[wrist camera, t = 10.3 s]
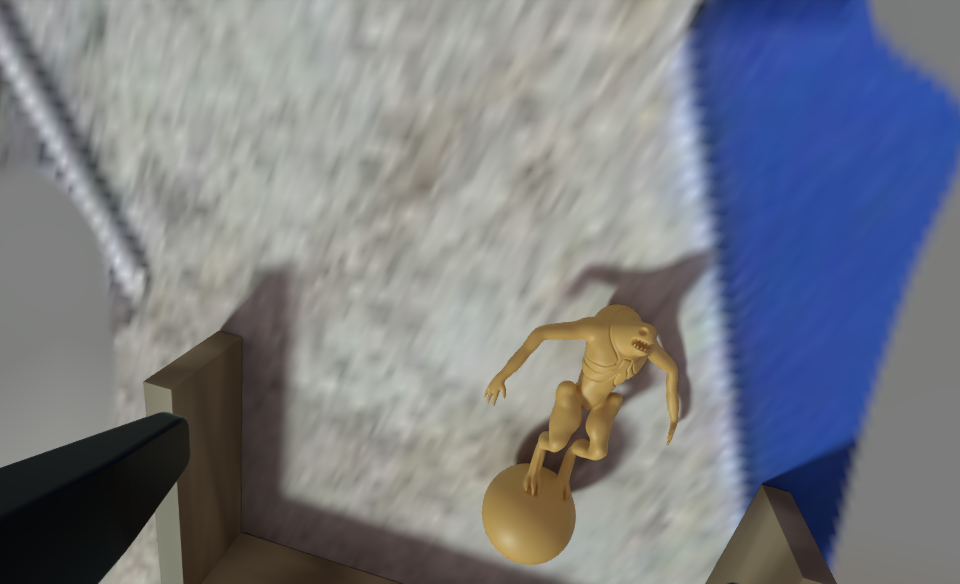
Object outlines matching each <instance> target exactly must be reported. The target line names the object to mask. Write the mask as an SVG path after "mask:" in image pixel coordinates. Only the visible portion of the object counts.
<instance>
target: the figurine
mask: <svg viewBox="0 0 960 584" xmlns="http://www.w3.org/2000/svg"><path fill="white" fill-rule="evenodd" d="M568 339H584V340H586V341H587V344H586V350H585V354H584V358H583V363H582V370H581V373H580V376H579V380H578V382H577V383H576V384H574V383H573V382H571V381H563V382H561V383H560V384H559V386H558V388H557V390H556V400H555V405H554V408H553V410H552V413H551V417H550V422H549V432H548V431H545V432H543V433H541V434H540V436H539V439H538V443H537V445H536V448H535V451H534V454H533V457H532V460H531V463H523V464H517V465H514V466H511V467H509V468H507V469H505V470H503V471H502V472H501V473H499V474H498V475H497V476H496V477H495V478H494V479H493V481H492V482H491V483H490V485H489V487H488V489H487V491H486V493H485V496H484V500H483V505H482V519H483V525H484V528H485V531H486V534H487V536H488V538H489V540H490V542H491V543H492V544H493V546H494V547H495V548H496V549H497V550H498V551H499V552H500V553H501V554H502V555H503V556H505V557H506V558H508V559H510V560H512V561H514V562H517V563H520V564H525V565H536V564H541V563H544V562H547V561H549V560H551V559H553V558H555V557H556V556H557V555H558V554H560V553H561V552H562V551H563V550H564V548H565V547H566V546H567V544H568V543H569V541H570V539H571V537H572V534H573V531H574V527H575V519H576V513H575V505H574V501H573V498H572V495H571V493H570V491H571V489H570V484H569V481H570V476H571V472H572V469H573V465H574V462H575V458H576V456H577V455H578V456H580V457H583V458H588V459H591V460H599V459H602V458H604V457H605V456H606V455H607V453H608V442H609V439H610V435H611V430H612V426H613V421H614V418H615V416H616V414H617V412H618V410H619V408H620V406H621V404H622V401H623V398H622V396H621V395H620V394H619V393H615V392H611V391H612V390H613V389H614V388H615V387H616V386H618V385H620V384H621V383H623V382H624V381H625V380H626V379H630V378H631V377H633V376H634V375H635V374H637V373H638V372H639V370H640V369H641V368H642V366H643V365H644V364H645V362H646V360H647V358H648V359H650V360H651V361H652V362H653V363H654V364H656V365H657V366H658V367H659V368H661V369H662V370H664V371H665V372H667V378H666V388H667V393H666V398H667V407H668V411H669V415H670V419H671V424H670V429H669V433H668V437H667V439H668V441H667V445H668V444H669V443H670V441H671V439H672V437H673V434H674V431H675V429H676V426H677V422H678V412H679V398H678V390H677V383H678V375H679V372H678V367H677V365H676V363H675V362H674V360H673V359H672V358H671V357H670V356H669V355H668V353H667V352H665V351H664V350H663V349H662V348H661V346H660V345H659V343H658V341H657V340H656V339H657V330H656V328H655V327H654V326H653V325H651V324H649V323H644V322H643V321H642V319H641V318H640V316H639V315H638V313H637V312H636V311H635V310H634V309H632V308H630V307H628V306H626V305H620V304H614V305H609V306H606V307H604V308H603V309H601V310H600V311H599V312H598V313H597V314H596V315H595V317H587V318H583V319H580V320H578V321H574V322H563V323H555V324H548V325H544V326H540V327H538V328H536V329H535V330H533V331H532V332H531V334H530V335H529V336H528V338H527V339H526V341H525V342H524V344H523V345H522V346H521V347H520V348H519V349H518V351H517V352H516V353H515V354H514V355H513V356H512V357H511V358H510V360H509V361H508V362H507V364H506V365H505V367H504V368H503V369H502V370H501V371H500V372H499V373H498V374H497V375H496V376H495V377H494V379H493V380H492V381H491V382H490V384H489V386H488V388H487V390H486V392H485V394H484V397H486V395H487V393H488V392H489V391H490V393H489V395H488V397H487V403H488V402H489V400H490V398H491V396H492V395H493V394H494V399H493V406H495V402H496V400H497V397H498V394H499V392H500V391H502V393H503V398H505V396H506V388H505V384H504V382H505V380H506V379H507V378H508V377H510V376H511V375H512V374H513V373H514V372H516V371H517V370H518V369H519V368H520V367H521V366H522V365H523V363H524V362H525V361H526V359H527V358H528V357H529V355H530V354H531V353H532V352H533V351H535V350H536V349H537V347H538V346H539V345H540V344H541V343H542V342H543V341H544V340H568ZM581 406H582V407H581ZM582 408H583V409H585V410H590V409H591V411H590V413H589V416H588V418H587V421H586V426H585V427H586V431H587V434H588V435H589V437H590V443H589V442H588V441H587V440H585V439H578V440H576V441H575V442H574V443H573V444H572V445H571V446H570V447H569V448H568V449H567V451H566V454H565V456H564V459H563V462H562V465H561V468H560V470H559V473H558V475H557V474H555V473H554V472H553V471H551V470H550V469H548V468H546V467H543V461H544V458H545V454H546V450H548V451H551V452H557V451H559V450H561V449H562V448H564V447H565V446H566V445H567V443H568V441H569V439H570V437H571V435H572V434H573V433H574V432H575V431H576V430H577V429H578V427H579V426H580V423H581V420H582Z"/></svg>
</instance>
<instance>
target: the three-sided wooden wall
mask: <svg viewBox="0 0 960 584" xmlns="http://www.w3.org/2000/svg"><path fill="white" fill-rule="evenodd" d="M143 384H144V395H145V406H146V417H148V416H151V415H153V414H156V413H160V412H169V413H173V414H176V415H179V416H183V417H185V418H187V420H188V421H189V425H190V444H191V456H190V461H189V463H188V465H187V467H186V469H185V471H184V472H183V473H182V475H181V476H180V477H179V479H178V480H177V482H176V483H175V484H174V486H173V487H172V489H171V490H170V491H169V493H168V494H167V495H166V497H165V498H164V500H163V501H162V502H161V504H160V505H159V507H158V508H157V509H156V511H155V518H156V529H157V541H158V552H159V563H160V574H161V584H400V583H397V582H394V581H391V580H387V579H384V578H381V577H378V576H375V575H372V574H369V573H366V572H363V571H359V570H356V569H353V568H350V567H347V566H344V565H341V564H338V563H335V562H331V561H328V560H325V559H322V558H319V557H316V556H313V555H310V554H307V553H303V552H300V551H297V550H294V549H291V548H288V547H285V546H282V545H279V544H275V543H272V542H269V541H266V540H263V539H260V538H257V537H254V536H251V535H247V534H244V533H241V424H242V337H238V336H235V335H231V334H228V333H224V332H221V331H218V332H216V333H215V334H213V335H212V336H210V337H209V338H207V339H206V340H204V341H203V342H201V343H200V344H198V345H197V346H195V347H194V348H192V349H191V350H190V351H188V352H187V353H185V354H184V355H182V356H181V357H179V358H178V359H176V360H175V361H173V362H172V363H170V364H169V365H167V366H166V367H164V368H163V369H161V370H160V371H158V372H157V373H155V374H154V375H152V376H151V377H150V378H148V379H147V380H145V381H144V382H143ZM728 582H735V583H738V584H837V583H836V581H835V579H834V577H833V575H832V573H831V571H830V569H829V567H828V566H827V564H826V562H825V560H824V558H823V556H822V554H821V552H820V550H819V548H818V546H817V544H816V542H815V540H814V538H813V536H812V534H811V532H810V530H809V528H808V526H807V524H806V522H805V520H804V518H803V516H802V514H801V512H800V510H799V508H798V506H797V504H796V503H795V501H794V499H793V497H792V495H791V493H790V492H787V491H783V490H780V489H776V488H773V487H769V486H766V485H761V486H760V488H759V490H758V492H757V493H756V495H755V497H754V499H753V500H752V502H751V504H750V506H749V508H748V509H747V511H746V513H745V515H744V516H743V518H742V520H741V522H740V523H739V525H738V527H737V529H736V531H735V532H734V534H733V536H732V538H731V539H730V541H729V543H728V545H727V547H726V548H725V550H724V552H723V554H722V555H721V557H720V559H719V561H718V562H717V564H716V566H715V568H714V570H713V571H712V573H711V575H710V577H709V578H708V580H707V582H706V584H727V583H728Z"/></svg>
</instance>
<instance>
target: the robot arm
mask: <svg viewBox="0 0 960 584" xmlns="http://www.w3.org/2000/svg"><path fill="white" fill-rule="evenodd" d="M190 456H191V444H190V425H189V421H188V420H187V418H185V417H183V416H179V415H176V414H173V413H169V412H160V413H156V414H153V415H151V416H148V417H145V418H142V419H139V420H136V421H133V422H130V423H128V424H125V425H122V426H119V427H116V428H113V429H110V430H108V431H105V432H102V433H99V434H96V435H93V436H90V437H87V438H85V439H82V440H79V441H76V442H73V443H71V444H68V445H65V446H62V447H59V448H56V449H53V450H50V451H47V452H44V453H42V454H39V455H36V456H33V457H30V458H27V459H24V460H22V461H19V462H16V463H13V464H10V465H7V466H4V467H2V468H0V584H98V583H99V582H100V581H101V580H102V579H103V578H104V576H105V575H106V574H107V573H108V572H109V571H110V569H111V568H112V567H113V566H114V565H115V564H116V562H117V561H118V560H119V559H120V558H121V556H122V555H123V554H124V553H125V552H126V550H127V549H128V548H129V546H130V545H131V544H132V542H133V541H134V540H135V538H136V537H137V536H138V534H139V533H140V532H141V530H142V529H143V527H144V526H145V525H146V523H147V522H148V520H149V519H150V518H151V516H152V515H153V514H154V512H155V511H156V509H157V508H158V507H159V505H160V504H161V502H162V501H163V500H164V498H165V497H166V495H167V494H168V493H169V491H170V490H171V489H172V487H173V486H174V484H175V483H176V482H177V480H178V479H179V477H180V476H181V475H182V473H183V472H184V471H185V469H186V467H187V465H188V463H189V461H190ZM727 584H738V583H735V582H728V583H727Z"/></svg>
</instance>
